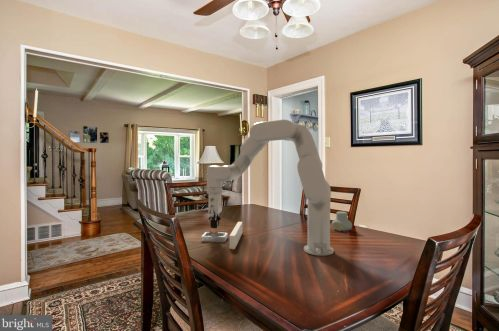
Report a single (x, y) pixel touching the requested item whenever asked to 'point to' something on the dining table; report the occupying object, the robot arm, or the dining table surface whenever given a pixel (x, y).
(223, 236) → the grey hollow rectangular frame
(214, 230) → the grandmother figurine
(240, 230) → the white long flat block
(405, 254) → the dining table surface
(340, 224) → the air freshener
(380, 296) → the dining table surface
